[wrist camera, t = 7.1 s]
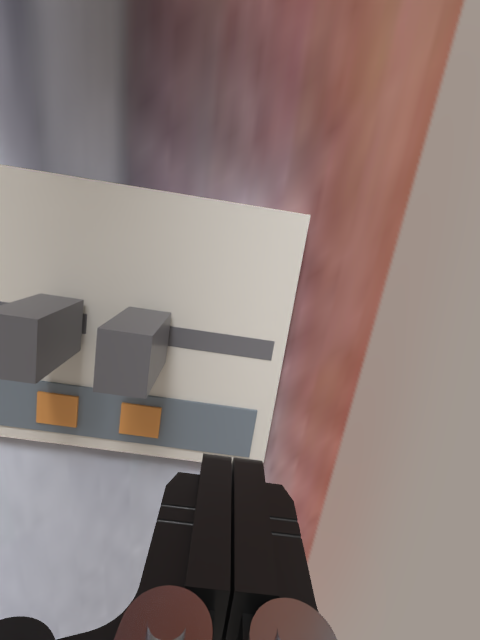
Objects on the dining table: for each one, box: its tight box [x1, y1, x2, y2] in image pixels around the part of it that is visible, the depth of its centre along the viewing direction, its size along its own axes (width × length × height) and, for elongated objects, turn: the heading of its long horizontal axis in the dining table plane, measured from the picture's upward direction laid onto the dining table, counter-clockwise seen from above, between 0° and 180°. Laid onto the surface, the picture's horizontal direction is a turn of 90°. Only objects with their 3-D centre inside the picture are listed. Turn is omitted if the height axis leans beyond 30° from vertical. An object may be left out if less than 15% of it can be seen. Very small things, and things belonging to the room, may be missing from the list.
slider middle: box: [0, 293, 84, 384], centre depth 19 cm, size 3×2×5 cm
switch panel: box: [0, 164, 310, 463], centre depth 22 cm, size 16×32×2 cm, turn 81°
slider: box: [93, 307, 171, 399], centre depth 19 cm, size 3×2×5 cm
